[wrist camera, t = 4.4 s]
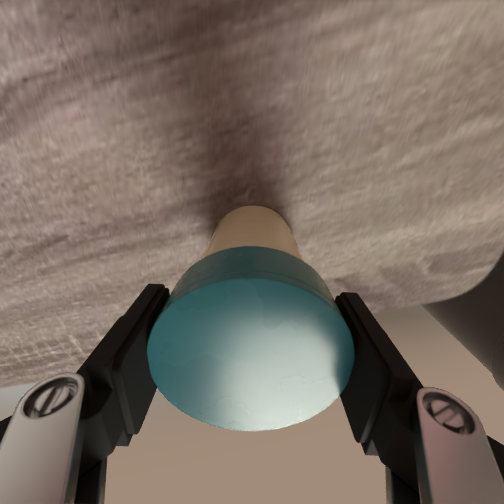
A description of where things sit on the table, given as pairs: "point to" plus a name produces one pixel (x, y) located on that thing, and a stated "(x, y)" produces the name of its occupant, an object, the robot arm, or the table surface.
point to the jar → (253, 231)
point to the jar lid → (251, 341)
